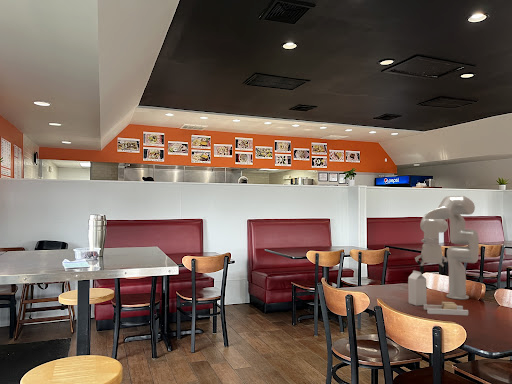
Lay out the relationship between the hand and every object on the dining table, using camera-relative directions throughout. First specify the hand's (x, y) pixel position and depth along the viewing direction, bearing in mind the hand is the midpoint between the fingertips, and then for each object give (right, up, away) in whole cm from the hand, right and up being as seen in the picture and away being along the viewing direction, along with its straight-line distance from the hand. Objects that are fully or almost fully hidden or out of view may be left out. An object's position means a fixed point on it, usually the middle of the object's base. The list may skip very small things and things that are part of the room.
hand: (431, 273), depth 225 cm
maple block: (+8, -20, -3) cm, 22 cm away
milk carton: (-2, -21, +15) cm, 26 cm away
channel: (+6, -20, -3) cm, 21 cm away
